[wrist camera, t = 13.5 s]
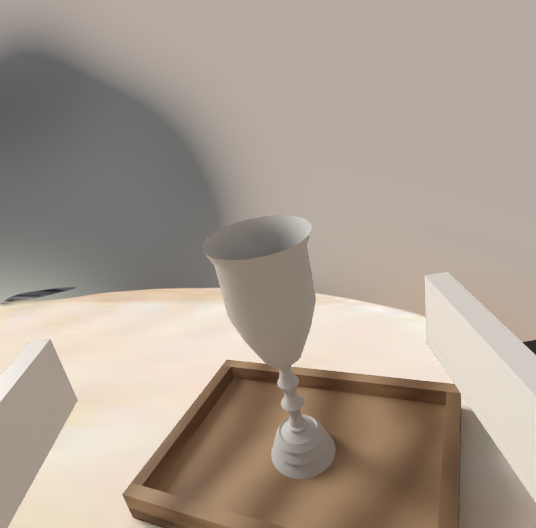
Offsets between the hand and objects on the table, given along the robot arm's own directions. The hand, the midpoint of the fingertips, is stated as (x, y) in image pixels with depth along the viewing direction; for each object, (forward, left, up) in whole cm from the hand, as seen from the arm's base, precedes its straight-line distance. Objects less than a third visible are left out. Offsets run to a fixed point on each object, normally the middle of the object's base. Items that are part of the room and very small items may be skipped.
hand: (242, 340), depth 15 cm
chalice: (-5, +11, -18) cm, 22 cm away
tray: (-5, +11, -19) cm, 23 cm away
